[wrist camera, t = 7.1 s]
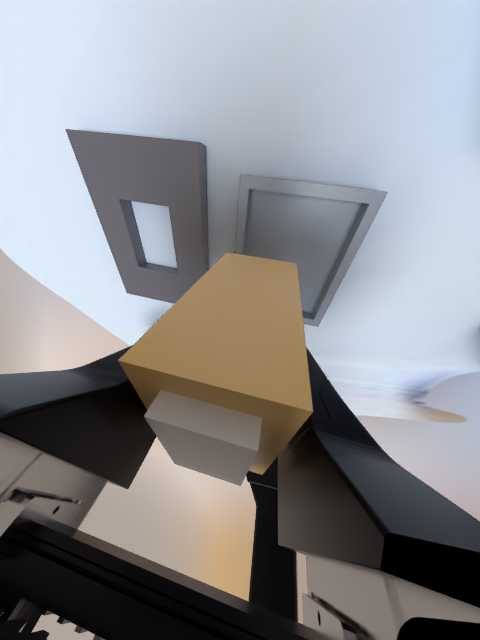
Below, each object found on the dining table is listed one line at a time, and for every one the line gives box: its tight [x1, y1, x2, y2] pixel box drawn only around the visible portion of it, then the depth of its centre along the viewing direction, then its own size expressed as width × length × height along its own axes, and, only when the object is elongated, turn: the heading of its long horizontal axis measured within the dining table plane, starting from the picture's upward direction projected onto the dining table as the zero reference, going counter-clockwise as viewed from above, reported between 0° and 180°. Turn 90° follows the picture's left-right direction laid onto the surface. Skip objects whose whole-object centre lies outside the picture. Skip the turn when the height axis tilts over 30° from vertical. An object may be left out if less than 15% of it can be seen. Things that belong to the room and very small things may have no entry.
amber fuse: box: [118, 252, 313, 486], centre depth 8 cm, size 6×4×9 cm
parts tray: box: [234, 174, 388, 327], centre depth 17 cm, size 13×11×2 cm
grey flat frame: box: [66, 129, 208, 303], centre depth 19 cm, size 16×12×2 cm
